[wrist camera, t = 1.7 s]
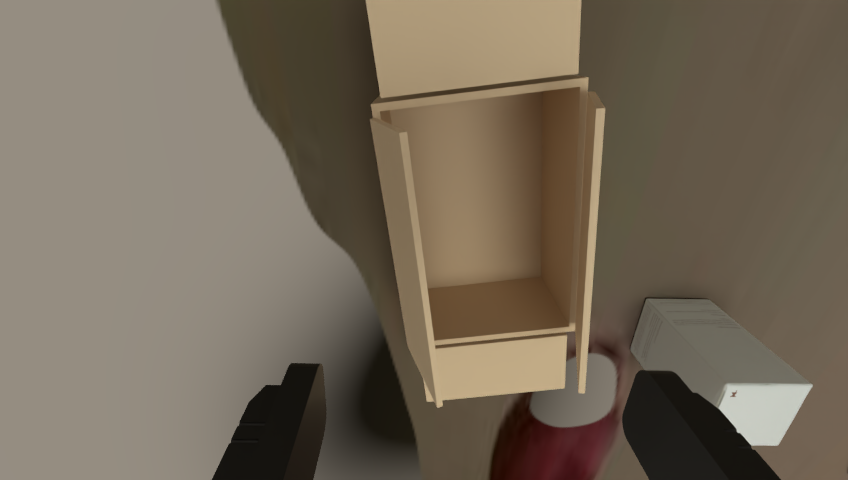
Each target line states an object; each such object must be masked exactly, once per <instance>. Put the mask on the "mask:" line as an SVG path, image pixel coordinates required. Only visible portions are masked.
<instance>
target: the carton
mask: <svg viewBox="0 0 848 480" xmlns="http://www.w3.org/2000/svg"><path fill="white" fill-rule="evenodd" d="M366 6H367V12H368V19H369V25H370V32H371V38H372V45H373V51H374V58H375V64H376V71H377V78H378V84H379V91H380V95H379V96H378V97H377V98H376V99H375V100H374V101H373V103H372V104H371V108H372V115H373V118H377V119H380V120H382V121H384V122H386V123H389V124H391V125H393V126H395V127H398V128H400V129H402V130H404V131H407V136H408V144H409V151H410V159H411V167H412V174H413V182H414V190H415V197H416V205H417V212H418V220H419V228H420V235H421V243H422V251H423V258H424V266H425V274H426V281H427V289H428V296H429V304H430V312H431V319H432V327H433V335H434V342H435V345H438V346H435V350H436V358H437V365H438V373H439V381H440V388H441V396H442V400H451V399H461V398H471V397H481V396H491V395H502V394H512V393H522V392H532V391H541V390H552V389H562V388H565V369H566V347H567V334H566V333H565V332H569V331H575V321H576V302H577V283H578V264H579V246H580V227H581V208H582V189H583V170H584V151H585V133H586V114H587V95H588V78H589V77H582V76H574V75H571V74H578V68H579V44H580V21H581V0H366ZM560 332H564V333H560ZM550 333H555V334H550ZM540 334H545V335H540ZM531 335H535V336H531ZM521 336H526V337H521ZM511 337H516V338H511ZM501 338H506V339H501ZM492 339H496V340H492ZM482 340H487V341H482ZM472 341H477V342H472ZM463 342H467V343H463ZM453 343H458V344H453ZM443 344H448V345H443ZM424 385H425V392H426V399H427V402H430V401H434V400H433V398H432V396H431V394H430V392H429V390H428V388H427V385H426V383H425V381H424Z"/></svg>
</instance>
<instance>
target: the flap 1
mask: <svg viewBox="0 0 848 480" xmlns="http://www.w3.org/2000/svg"><path fill="white" fill-rule="evenodd" d="M370 123H371V129H372V135H373V141H374V147H375V153H376V159H377V165H378V171H379V177H380V183H381V189H382V195H383V201H384V207H385V213H386V219H387V225H388V231H389V237H390V243H391V249H392V255H393V261H394V267H395V273H396V279H397V285H398V291H399V297H400V303H401V309H402V315H403V321H404V327H405V333H406V339H407V345H408V348H409V350H410V352H411V354H412V356H413V358H414V360H415V363H416V365H417V367H418V369H419V371H420V373H421V375H422V377H423V379H424V381H425V383H426V385H427V388H428V390H429V392H430V394H431V396H432V398H433V400H434V402H435V404H436V406H437V408H439V407H441V406H443V403H442V396H441V388H440V381H439V373H438V365H437V358H436V350H435V342H434V335H433V327H432V319H431V312H430V304H429V296H428V289H427V281H426V274H425V266H424V258H423V251H422V243H421V235H420V228H419V220H418V212H417V205H416V197H415V190H414V182H413V174H412V167H411V159H410V151H409V144H408V136H407V131H404V130H402V129H400V128H398V127H395V126H393V125H391V124H389V123H386V122H384V121H382V120H380V119H377V118H372V119H370Z"/></svg>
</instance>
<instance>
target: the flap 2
mask: <svg viewBox="0 0 848 480" xmlns="http://www.w3.org/2000/svg"><path fill="white" fill-rule="evenodd" d="M604 119H605V107H604V105H603V104H602V102H601V101H600V99H599V97H598V96H597V94H596V93H595V91H592V92H588V95H587V114H586V133H585V151H584V170H583V189H582V208H581V227H580V246H579V264H578V283H577V302H576V321H575V336H576V355H577V372H578V373H577V375H578V392H579V393H585V384H586V370H587V356H588V342H589V328H590V314H591V300H592V286H593V272H594V258H595V244H596V230H597V216H598V203H599V189H600V175H601V161H602V147H603V133H604Z"/></svg>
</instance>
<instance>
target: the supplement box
mask: <svg viewBox="0 0 848 480" xmlns="http://www.w3.org/2000/svg"><path fill="white" fill-rule="evenodd" d="M630 350H631V352H632V353H633V355H634V356H635V357H636V359H637V360H638V361H639V363H640V364H641V365H642V367H643V368H644V369H645V370H659V371H673V372H675V373H676V374H677V375H678V376H679V377H680V378H681V379H682V380H683V382H684V383H685V384H686V385H687V386H688V388H689V389H690V390H691V391H692V392H693V393H698V394H699V395H701V396H702V397H704V398H705V399H706V400H708V401H709V402H710V403H712V404H713V405H714V406H716V407H717V408H718V409H720V410H721V412H722V413H723V414H724V415H725V416H726V417H727V418H728V420H729V421H730V422H731V423H732V424H733V425H734V426H735V428H736V429H737V433H741V434H742V436H743V437H744V438H745V439H746V440H747V441H748V443H749V444H750V445H769V446H777V445H778V444H779V443H780V441H781V440H782V438H783V436H784V435H785V433H786V431H787V429H788V428H789V426H790V424H791V422H792V421H793V419H794V417H795V415H796V414H797V412H798V410H799V408H800V406H801V405H802V403H803V401H804V399H805V397H806V396H807V394H808V392H809V391H810V389H811V388H812V386H813V385H812V384H811V383H810V382H809V381H807V380H806V379H805V378H804V377H803V376H801V375H800V374H799V373H798V372H797V371H795V370H794V369H793V368H792V367H791V366H789V365H788V364H787V363H786V362H784V361H783V360H782V359H781V358H780V357H778V356H777V355H776V354H775V353H773V352H772V351H771V350H770V349H769V348H767V347H766V346H765V345H764V344H763V343H761V342H760V341H759V340H758V339H757V338H755V337H754V336H753V335H752V334H750V333H749V332H748V331H747V330H746V329H744V328H743V327H742V326H741V325H739V324H738V323H737V322H736V321H734V320H733V319H732V318H731V317H730V316H728V315H727V314H726V313H725V312H724V311H723V310H721V309H720V308H719V307H718V306H716V305H715V304H714V303H713V302H712V301H710V300H709V299H646V301H645V304H644V307H643V310H642V313H641V316H640V319H639V322H638V325H637V328H636V332H635V335H634V338H633V341H632V344H631V349H630Z"/></svg>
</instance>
